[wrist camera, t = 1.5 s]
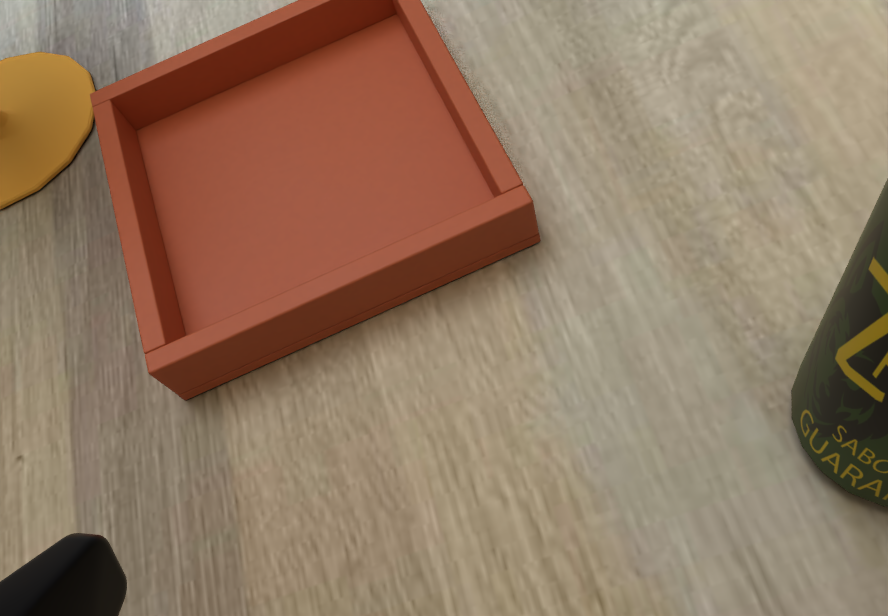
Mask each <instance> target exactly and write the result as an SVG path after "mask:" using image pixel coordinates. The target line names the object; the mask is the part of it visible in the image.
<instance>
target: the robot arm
mask: <svg viewBox="0 0 888 616" xmlns="http://www.w3.org/2000/svg"><path fill="white" fill-rule="evenodd" d="M126 590H127V580H126V576H125V574H124V572H123V570H122V568H121V566H120V564H119V562H118V560H117V558H116V556H115V554H114V552H113V550H112V548H111V546H110V544H109V542H108V541H107V539H106V538H104V537H103V536H101V535H93V534H83V533H74V534H70V535H68V536H66V537H64V538H63V539H61V540H60V541H58V542H57V543H55V544H54V545H53V546H51V547H50V548H48V549H47V550H45V551H44V552H42V553H41V554H40V555H38V556H37V557H35V558H34V559H32V560H31V561H29V562H28V563H27V564H25V565H24V566H22V567H21V568H19V569H18V570H17V571H15V572H14V573H12V574H11V575H9V576H8V577H6V578H5V579H4V580H2V581H1V582H0V616H118V615H119V612H120V610H121V607H122V604H123V602H124V599H125V595H126Z"/></svg>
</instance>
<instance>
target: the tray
mask: <svg viewBox="0 0 888 616" xmlns="http://www.w3.org/2000/svg"><path fill="white" fill-rule="evenodd" d="M90 99H91V103H92V107H93V112H94V117H95V122H96V126H97V131H98V136H99V141H100V145H101V150H102V155H103V160H104V164H105V169H106V174H107V179H108V183H109V188H110V193H111V198H112V203H113V207H114V212H115V217H116V222H117V226H118V231H119V236H120V241H121V245H122V250H123V255H124V260H125V264H126V269H127V274H128V279H129V284H130V288H131V293H132V298H133V303H134V307H135V312H136V317H137V322H138V326H139V331H140V336H141V341H142V345H143V350H144V353H145V358H146V363H147V368H148V373H149V374H150V375H151V376H153V377H154V378H156V379H157V380H158V381H160V382H161V383H162V384H164V385H165V386H166V387H168V388H169V389H171V390H172V391H173V392H175V393H176V394H178V395H179V396H180V397H181V398H182V399H184V400H187V399H190V398H192V397H194V396H196V395H199V394H201V393H203V392H205V391H208V390H210V389H212V388H214V387H216V386H219V385H221V384H223V383H225V382H228V381H230V380H232V379H234V378H237V377H239V376H241V375H243V374H245V373H248V372H250V371H252V370H254V369H257V368H259V367H261V366H263V365H266V364H268V363H270V362H272V361H274V360H277V359H279V358H281V357H283V356H286V355H288V354H290V353H292V352H295V351H297V350H299V349H301V348H303V347H306V346H308V345H310V344H312V343H315V342H317V341H319V340H321V339H324V338H326V337H328V336H330V335H332V334H335V333H337V332H339V331H341V330H344V329H346V328H348V327H350V326H353V325H355V324H357V323H359V322H362V321H364V320H366V319H368V318H370V317H373V316H375V315H377V314H379V313H382V312H384V311H386V310H388V309H391V308H393V307H395V306H397V305H399V304H402V303H404V302H406V301H408V300H411V299H413V298H415V297H417V296H420V295H422V294H424V293H426V292H428V291H431V290H433V289H435V288H437V287H440V286H442V285H444V284H446V283H449V282H451V281H453V280H455V279H457V278H460V277H462V276H464V275H466V274H469V273H471V272H473V271H475V270H478V269H480V268H482V267H484V266H486V265H489V264H491V263H493V262H495V261H498V260H500V259H502V258H504V257H507V256H509V255H511V254H513V253H515V252H518V251H520V250H522V249H524V248H527V247H529V246H531V245H533V244H536V243H538V242H540V235H539V232H538V226H537V220H536V215H535V210H534V205H533V200H532V198H531V197H530V195H529V193H528V191H527V190H526V188H525V187H524V186H523V182H522V181H521V179H520V177H519V175H518V173H517V172H516V170H515V168H514V166H513V164H512V163H511V161H510V159H509V157H508V156H507V154H506V152H505V150H504V148H503V147H502V145H501V143H500V141H499V140H498V138H497V136H496V134H495V132H494V131H493V129H492V127H491V125H490V124H489V122H488V120H487V118H486V116H485V115H484V113H483V111H482V109H481V108H480V106H479V104H478V102H477V100H476V99H475V97H474V95H473V93H472V92H471V90H470V88H469V86H468V84H467V83H466V81H465V79H464V77H463V76H462V74H461V72H460V70H459V68H458V67H457V65H456V63H455V61H454V59H453V58H452V56H451V54H450V52H449V51H448V49H447V47H446V45H445V43H444V42H443V40H442V38H441V36H440V35H439V33H438V31H437V29H436V27H435V26H434V24H433V22H432V20H431V19H430V17H429V15H428V13H427V11H426V10H425V8H424V6H423V4H422V3H421V1H420V0H298V1H296V2H294V3H291V4H289V5H287V6H285V7H282V8H280V9H278V10H276V11H273V12H271V13H269V14H267V15H265V16H262V17H260V18H258V19H256V20H253V21H251V22H249V23H247V24H244V25H242V26H240V27H238V28H236V29H233V30H231V31H229V32H227V33H224V34H222V35H220V36H218V37H215V38H213V39H211V40H209V41H207V42H204V43H202V44H200V45H198V46H195V47H193V48H191V49H189V50H186V51H184V52H182V53H180V54H178V55H175V56H173V57H171V58H169V59H166V60H164V61H162V62H160V63H158V64H155V65H153V66H151V67H149V68H146V69H144V70H142V71H140V72H137V73H135V74H133V75H131V76H129V77H126V78H124V79H122V80H120V81H117V82H115V83H113V84H111V85H108V86H106V87H104V88H102V89H100V90H97V91H95V92H93V93H91V94H90Z"/></svg>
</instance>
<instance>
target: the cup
mask: <svg viewBox="0 0 888 616" xmlns="http://www.w3.org/2000/svg"><path fill="white" fill-rule="evenodd" d="M93 92H95V87H94V84H93V81H92V78H91V74H90V73H89V72H88V71H87V70H86V69H84V68H83V67H82V66H81V65H79V64H78V63H77V62H75V61H74V60H73V59H72V58H70V57H69V56H63V55H57V54H51V53H44V52H35V53H30V54H25V55H20V56H15V57H10V58H5V59H3V60H1V61H0V209H2V208H4V207H6V206H8V205H10V204H12V203H14V202H16V201H18V200H20V199H22V198H24V197H26V196H28V195H30V194H32V193H34V192H37V191H39V190H40V189H41V188H42V187H43V186H44V185H46V184H47V183H48V182H49V181H50V180H51V179H52V178H54V177H55V176H56V175H57V174H58V173H59V172H60V171H61V170H63V169H64V168H65V167H66V166H67V165H68V164H69V163H71V161H72V159H73V158H74V156H75V155H76V153H77V152H78V150H79V149H80V147H81V145H82V144H83V142H84V141H85V139H86V138H87V136H88V135H89V133H90V131H91V129H92V124H93V120H94V112H93V107H92V103H91V99H90V94H91V93H93Z"/></svg>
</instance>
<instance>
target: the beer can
mask: <svg viewBox="0 0 888 616" xmlns="http://www.w3.org/2000/svg"><path fill="white" fill-rule="evenodd" d="M791 394H792V420H793V423H794V425H795V428H796V431H797V433H798V436H799V439H800V442H801V444H802V447H803V448H804V449H805V450H806V452H807V453H808V454H809V456H810V457H811V458H812V460H813V461H814V462H815V463H816V465H817V466H818V467H819V469H820V470H821V471H822V472H823V473H824V474H826V475H827V476H828V477H830V478H831V479H832V480H834V481H835V482H836V483H838V484H839V485H840V486H842V487H843V488H844V489H846V490H847V491H848V492H850V493H852V494H854V495H857V496H859V497H862V498H864V499H867V500H869V501H872V502H875V503H877V504H880V505H882V506H887V507H888V179H887V181H886V183H885V185H884V188H883V190H882V192H881V194H880V196H879V198H878V200H877V203H876V205H875V207H874V209H873V211H872V213H871V216H870V218H869V220H868V222H867V224H866V226H865V228H864V231H863V233H862V235H861V237H860V239H859V241H858V243H857V246H856V248H855V250H854V252H853V254H852V256H851V259H850V261H849V263H848V265H847V267H846V269H845V271H844V274H843V276H842V278H841V280H840V282H839V284H838V286H837V289H836V291H835V293H834V295H833V297H832V299H831V301H830V304H829V306H828V308H827V310H826V312H825V314H824V317H823V319H822V321H821V323H820V325H819V327H818V329H817V332H816V334H815V336H814V338H813V340H812V342H811V344H810V347H809V349H808V351H807V353H806V355H805V357H804V360H803V362H802V364H801V366H800V369H799V371H798V374H797V377H796V379H795V382H794V385H793V388H792V390H791Z"/></svg>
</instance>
